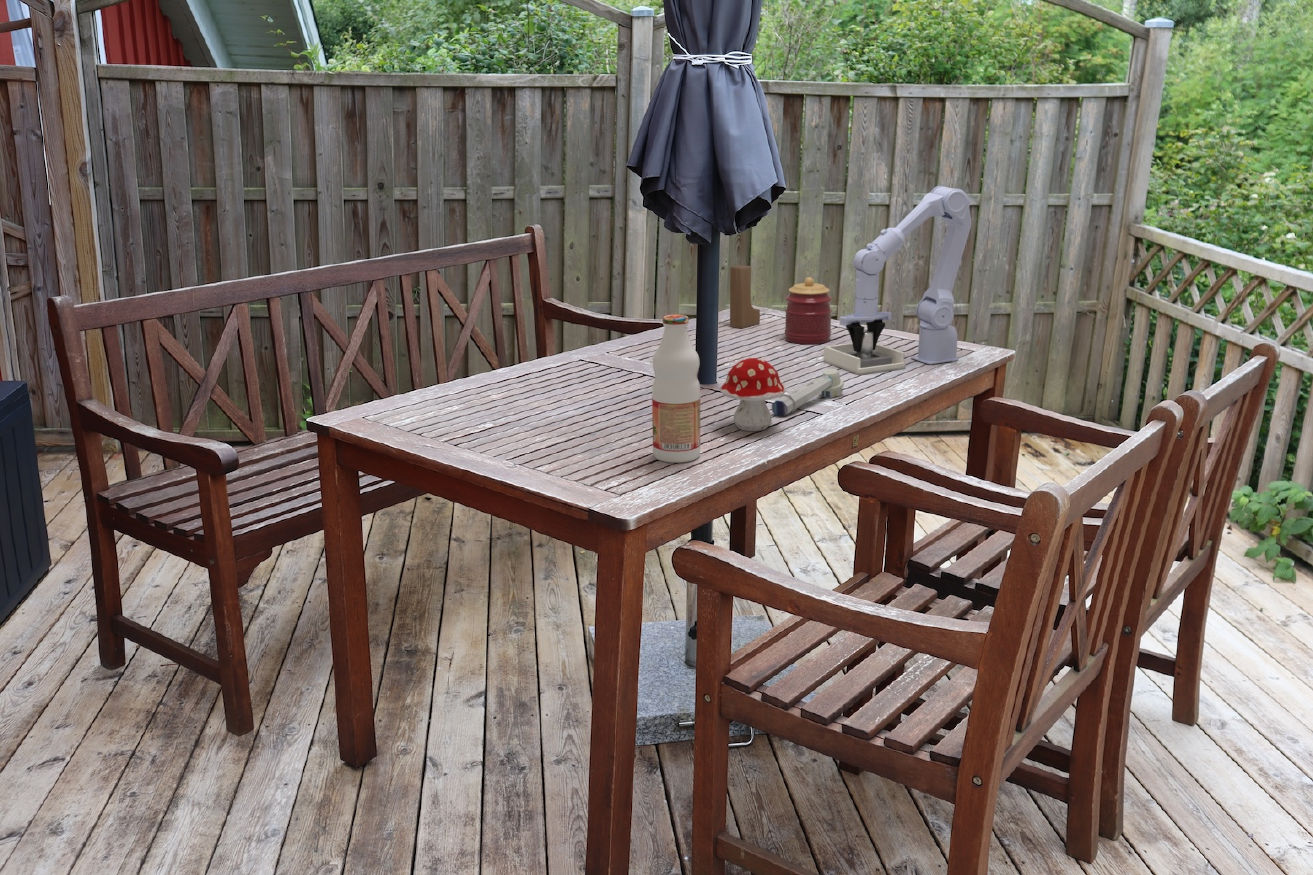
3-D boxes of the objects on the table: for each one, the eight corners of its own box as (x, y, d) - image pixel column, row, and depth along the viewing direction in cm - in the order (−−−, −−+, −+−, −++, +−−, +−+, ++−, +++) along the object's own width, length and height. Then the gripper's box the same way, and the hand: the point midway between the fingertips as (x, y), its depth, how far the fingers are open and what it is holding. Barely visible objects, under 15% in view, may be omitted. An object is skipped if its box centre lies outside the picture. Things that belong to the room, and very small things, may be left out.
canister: (786, 345, 324) (787, 281, 318) (782, 334, 336) (784, 273, 331) (833, 344, 323) (835, 281, 318) (828, 334, 336) (830, 273, 330)
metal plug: (866, 355, 302) (867, 328, 300) (875, 359, 299) (877, 332, 297) (853, 357, 301) (854, 330, 298) (862, 360, 297) (864, 334, 295)
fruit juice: (675, 467, 225) (674, 323, 217) (643, 456, 232) (640, 316, 224) (710, 456, 232) (710, 316, 223) (677, 445, 238) (676, 309, 230)
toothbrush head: (768, 398, 258) (828, 361, 275) (770, 426, 261) (829, 387, 278) (788, 402, 255) (847, 364, 272) (789, 430, 257) (848, 391, 275)
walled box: (868, 355, 310) (868, 340, 309) (905, 368, 297) (906, 353, 295) (823, 361, 305) (823, 346, 303) (859, 375, 291) (859, 359, 290)
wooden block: (748, 322, 353) (749, 262, 348) (760, 324, 350) (761, 264, 345) (729, 327, 347) (729, 266, 342) (741, 329, 344) (741, 267, 339)
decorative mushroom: (764, 440, 241) (765, 369, 236) (707, 430, 248) (707, 361, 244) (796, 424, 251) (798, 356, 247) (741, 414, 259) (741, 348, 255)
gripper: (880, 292, 302) (878, 344, 306) (833, 297, 296) (831, 350, 300) (897, 296, 296) (894, 349, 300) (849, 302, 290) (847, 355, 294)
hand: (864, 350), depth 299 cm, fingers closed on metal plug, 4 cm apart
